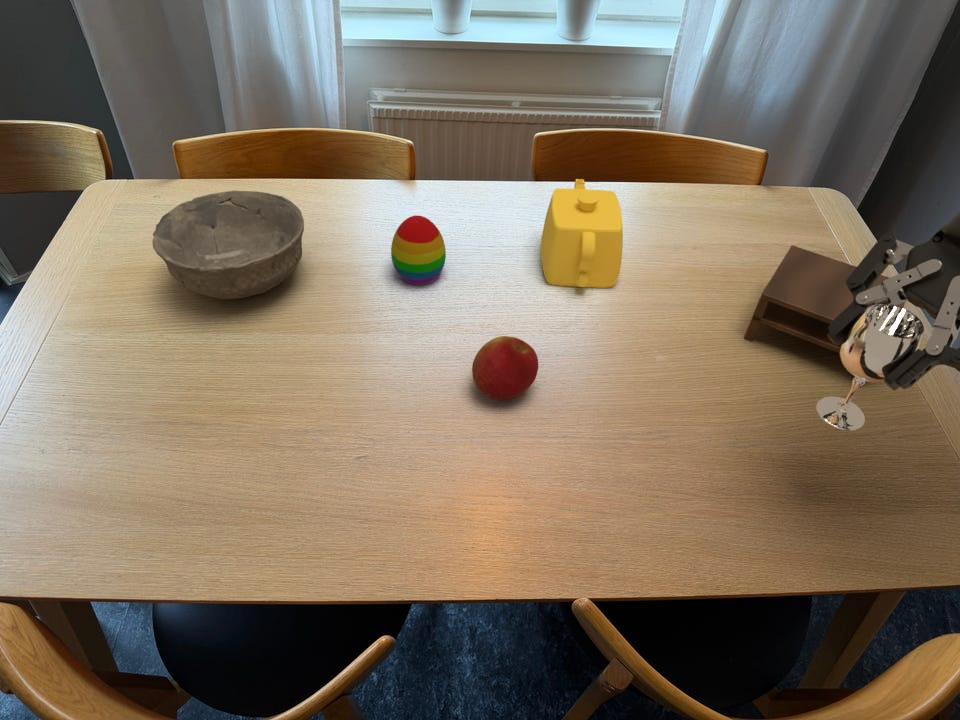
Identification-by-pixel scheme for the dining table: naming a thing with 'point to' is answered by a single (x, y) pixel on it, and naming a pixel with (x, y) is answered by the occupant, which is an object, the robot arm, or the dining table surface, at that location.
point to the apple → (505, 367)
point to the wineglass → (871, 357)
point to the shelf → (805, 297)
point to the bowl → (231, 242)
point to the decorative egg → (418, 250)
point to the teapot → (582, 238)
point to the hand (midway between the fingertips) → (860, 361)
